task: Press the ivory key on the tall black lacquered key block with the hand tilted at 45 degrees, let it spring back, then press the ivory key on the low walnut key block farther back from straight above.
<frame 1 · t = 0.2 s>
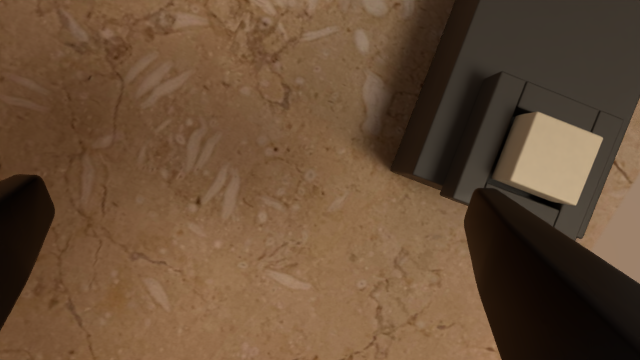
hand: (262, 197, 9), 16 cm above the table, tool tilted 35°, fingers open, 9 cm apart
block low: (495, 103, 25), on the table
key low: (544, 158, 18), point 7 cm above the table, slide at 0.1 cm
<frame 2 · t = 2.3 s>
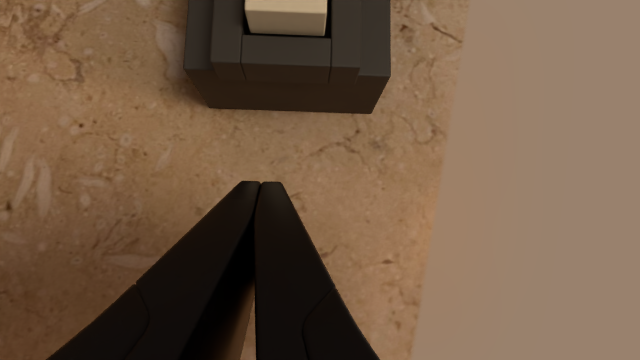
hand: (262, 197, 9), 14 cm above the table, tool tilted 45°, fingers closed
block low: (294, 11, 24), on the table
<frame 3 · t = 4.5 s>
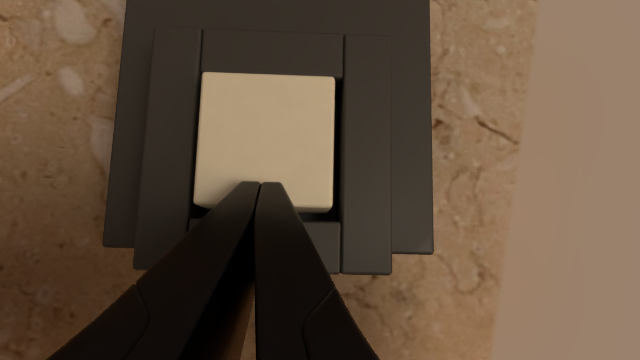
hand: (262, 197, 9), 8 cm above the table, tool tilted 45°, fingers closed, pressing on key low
block low: (285, 101, 17), on the table
key low: (269, 146, 10), point 7 cm above the table, slide at -0.5 cm, touching gripper
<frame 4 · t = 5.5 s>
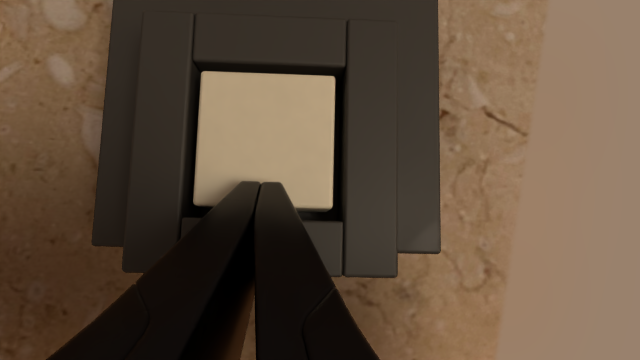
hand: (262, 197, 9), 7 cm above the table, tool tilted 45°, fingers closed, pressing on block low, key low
block low: (285, 91, 17), on the table
key low: (268, 146, 10), point 6 cm above the table, slide at -1.1 cm, touching gripper
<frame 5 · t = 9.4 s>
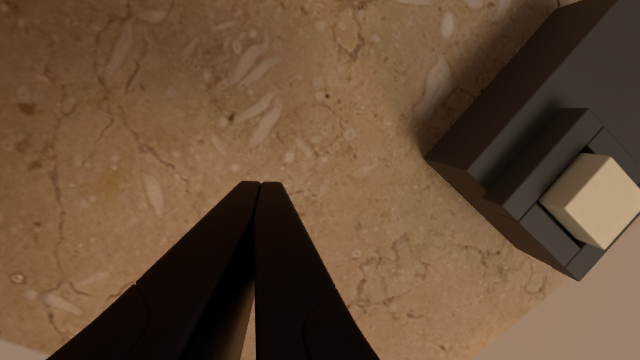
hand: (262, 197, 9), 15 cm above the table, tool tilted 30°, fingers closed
block low: (535, 133, 26), on the table
key low: (592, 200, 19), point 7 cm above the table, slide at 0.1 cm
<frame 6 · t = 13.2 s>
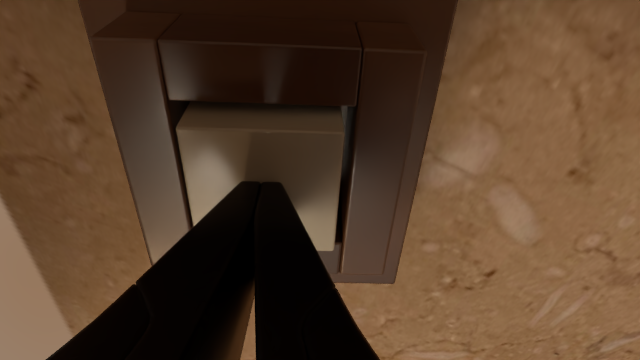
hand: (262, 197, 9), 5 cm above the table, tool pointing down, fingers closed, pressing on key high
key high: (267, 173, 10), point 4 cm above the table, slide at -0.7 cm, touching gripper
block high: (278, 102, 13), on the table
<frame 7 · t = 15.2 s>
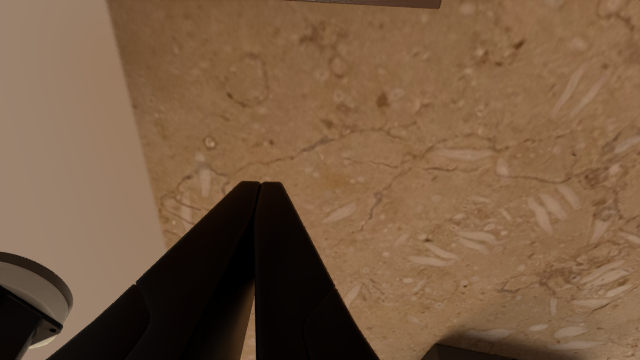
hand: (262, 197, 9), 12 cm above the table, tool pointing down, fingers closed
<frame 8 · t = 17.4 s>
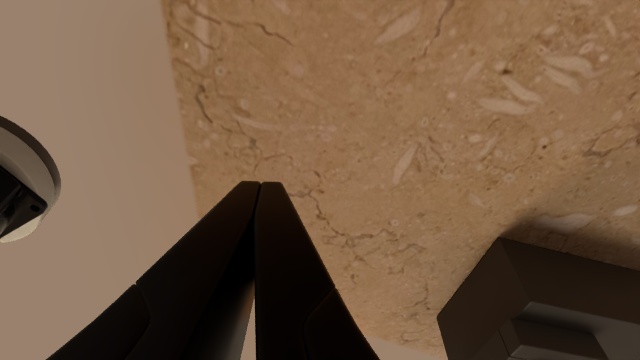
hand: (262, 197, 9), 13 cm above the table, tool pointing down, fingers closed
block low: (536, 295, 31), on the table
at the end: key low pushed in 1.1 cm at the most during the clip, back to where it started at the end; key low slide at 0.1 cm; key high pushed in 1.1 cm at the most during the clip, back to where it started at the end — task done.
